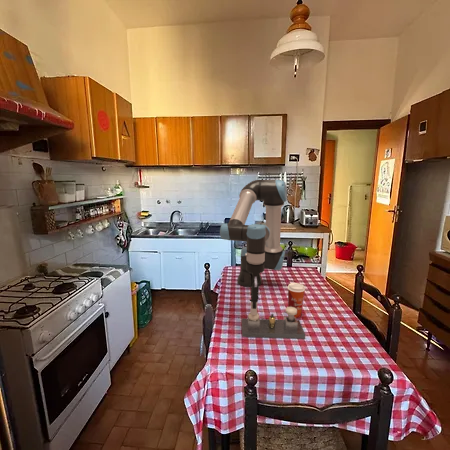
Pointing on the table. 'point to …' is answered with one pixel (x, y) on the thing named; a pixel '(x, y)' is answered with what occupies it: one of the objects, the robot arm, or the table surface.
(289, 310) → the knob
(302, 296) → the coffee cup
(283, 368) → the table surface
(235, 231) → the robot arm
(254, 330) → the panel
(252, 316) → the knob
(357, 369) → the table surface
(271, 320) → the potentiometer
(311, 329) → the table surface
